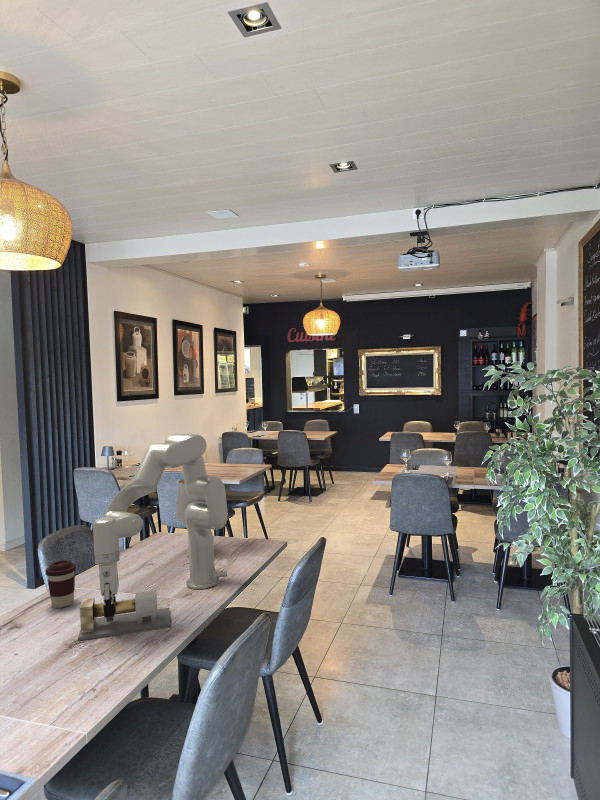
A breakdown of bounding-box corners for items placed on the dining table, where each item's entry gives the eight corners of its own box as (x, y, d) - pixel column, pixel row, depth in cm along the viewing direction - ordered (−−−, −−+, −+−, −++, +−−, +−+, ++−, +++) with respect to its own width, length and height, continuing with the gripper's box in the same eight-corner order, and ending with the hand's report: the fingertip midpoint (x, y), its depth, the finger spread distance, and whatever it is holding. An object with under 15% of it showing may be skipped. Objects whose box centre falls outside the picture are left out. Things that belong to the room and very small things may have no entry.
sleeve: (157, 613, 179) (156, 590, 179) (157, 621, 173) (156, 596, 173) (137, 616, 177) (135, 592, 177) (136, 624, 172) (135, 599, 171)
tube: (149, 609, 178) (148, 589, 178) (149, 615, 173) (148, 595, 173) (91, 617, 173) (90, 597, 173) (89, 624, 168) (88, 603, 168)
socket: (95, 622, 174) (94, 598, 174) (93, 631, 168) (92, 606, 168) (83, 623, 173) (82, 599, 173) (81, 632, 167) (79, 607, 167)
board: (169, 610, 183) (169, 607, 183) (170, 626, 171) (170, 623, 171) (83, 623, 176) (83, 620, 176) (78, 640, 164) (77, 637, 164)
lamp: (186, 548, 253) (182, 477, 252) (224, 548, 251) (221, 476, 249) (170, 561, 234) (167, 485, 233) (212, 562, 232) (209, 484, 231)
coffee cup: (83, 600, 196) (81, 559, 195) (63, 611, 186) (61, 568, 186) (62, 597, 199) (59, 557, 199) (41, 608, 190) (38, 566, 189)
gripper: (117, 563, 164) (120, 622, 165) (121, 547, 181) (124, 600, 181) (91, 567, 162) (94, 625, 163) (97, 550, 179) (100, 604, 179)
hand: (110, 612), depth 172 cm, fingers closed on tube, 5 cm apart
